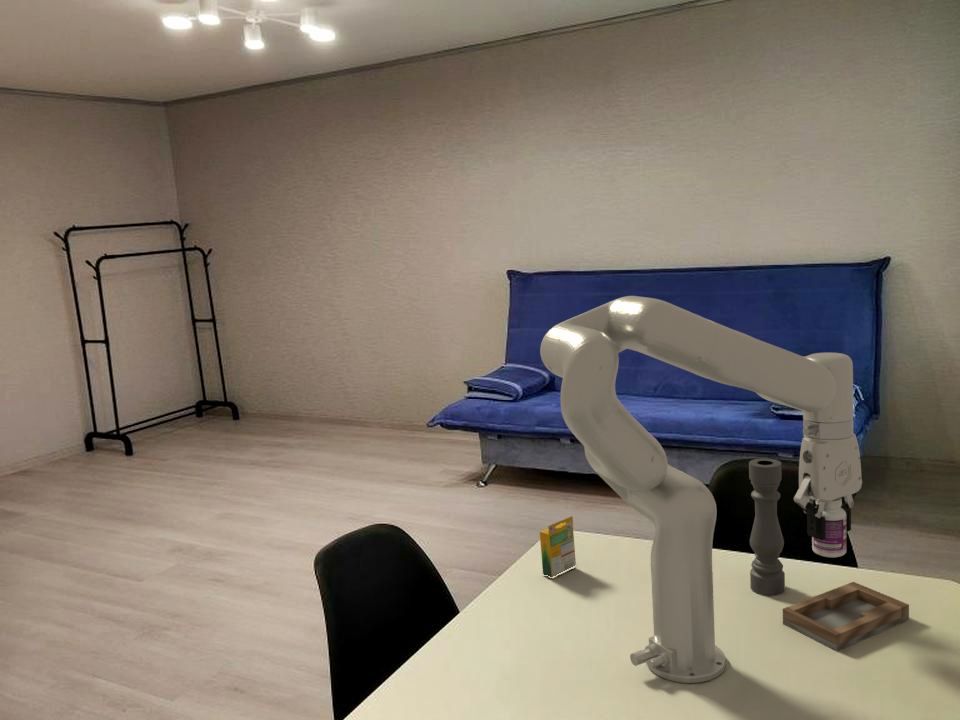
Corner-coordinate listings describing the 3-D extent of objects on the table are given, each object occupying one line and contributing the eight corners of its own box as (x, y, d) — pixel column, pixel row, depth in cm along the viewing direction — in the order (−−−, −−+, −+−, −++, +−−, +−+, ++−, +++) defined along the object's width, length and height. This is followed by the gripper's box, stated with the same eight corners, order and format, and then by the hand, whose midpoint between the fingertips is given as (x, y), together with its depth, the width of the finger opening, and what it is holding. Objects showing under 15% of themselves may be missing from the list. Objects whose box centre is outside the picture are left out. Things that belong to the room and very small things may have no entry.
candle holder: (779, 598, 147) (776, 469, 143) (746, 591, 150) (742, 465, 146) (789, 585, 151) (787, 460, 147) (756, 579, 155) (753, 456, 151)
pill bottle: (852, 557, 130) (852, 501, 128) (819, 559, 130) (819, 503, 129) (838, 544, 135) (837, 490, 134) (807, 546, 135) (806, 492, 134)
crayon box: (566, 564, 169) (563, 512, 167) (576, 568, 166) (573, 516, 165) (542, 575, 164) (538, 522, 162) (552, 579, 162) (548, 526, 160)
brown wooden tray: (836, 651, 128) (836, 635, 127) (782, 623, 138) (782, 608, 137) (908, 619, 136) (909, 604, 135) (853, 595, 145) (853, 581, 145)
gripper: (809, 442, 122) (811, 553, 125) (883, 423, 130) (883, 527, 133) (772, 433, 129) (774, 538, 132) (844, 415, 136) (845, 515, 139)
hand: (829, 532), depth 132 cm, fingers closed on pill bottle, 5 cm apart
